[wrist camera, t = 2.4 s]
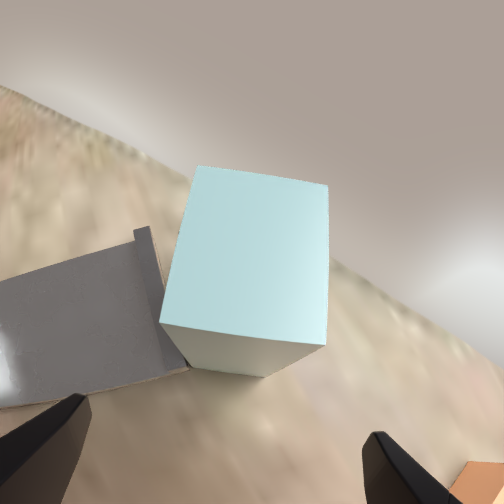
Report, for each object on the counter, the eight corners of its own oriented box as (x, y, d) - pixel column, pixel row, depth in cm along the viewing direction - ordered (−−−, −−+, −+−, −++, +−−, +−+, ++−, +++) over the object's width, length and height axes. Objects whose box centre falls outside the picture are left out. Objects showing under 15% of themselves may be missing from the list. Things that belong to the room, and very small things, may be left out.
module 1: (269, 377, 21) (335, 345, 9) (192, 367, 21) (159, 322, 9) (277, 296, 24) (335, 187, 12) (205, 285, 23) (197, 165, 12)
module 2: (455, 523, 15) (499, 535, 10) (435, 507, 16) (481, 520, 11) (486, 479, 17) (531, 482, 12) (468, 461, 18) (516, 463, 13)
